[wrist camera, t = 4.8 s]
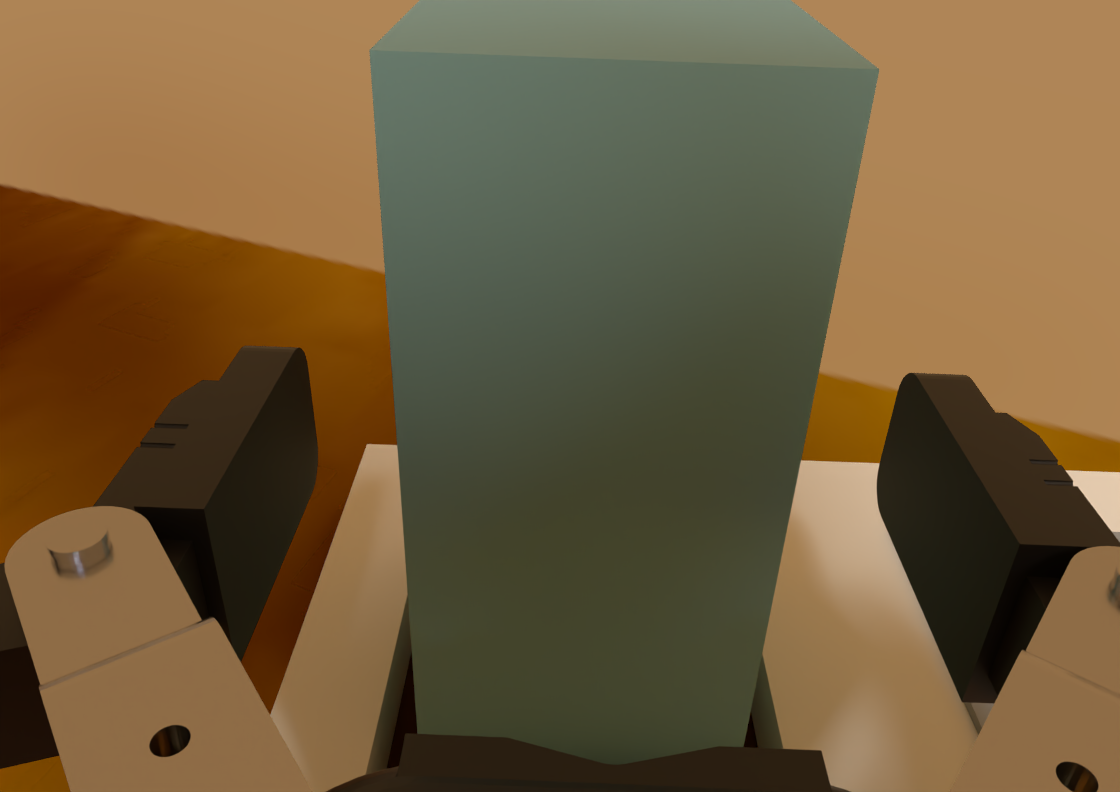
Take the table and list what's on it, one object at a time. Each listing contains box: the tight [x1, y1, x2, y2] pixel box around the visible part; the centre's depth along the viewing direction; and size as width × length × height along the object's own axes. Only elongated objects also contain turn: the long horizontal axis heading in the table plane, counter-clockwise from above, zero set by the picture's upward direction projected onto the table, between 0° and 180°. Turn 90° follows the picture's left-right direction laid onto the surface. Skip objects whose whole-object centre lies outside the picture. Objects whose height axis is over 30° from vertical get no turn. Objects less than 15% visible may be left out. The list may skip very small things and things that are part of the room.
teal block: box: [370, 0, 879, 765], centre depth 14 cm, size 5×5×12 cm
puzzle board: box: [270, 444, 1120, 792], centre depth 16 cm, size 20×14×2 cm
